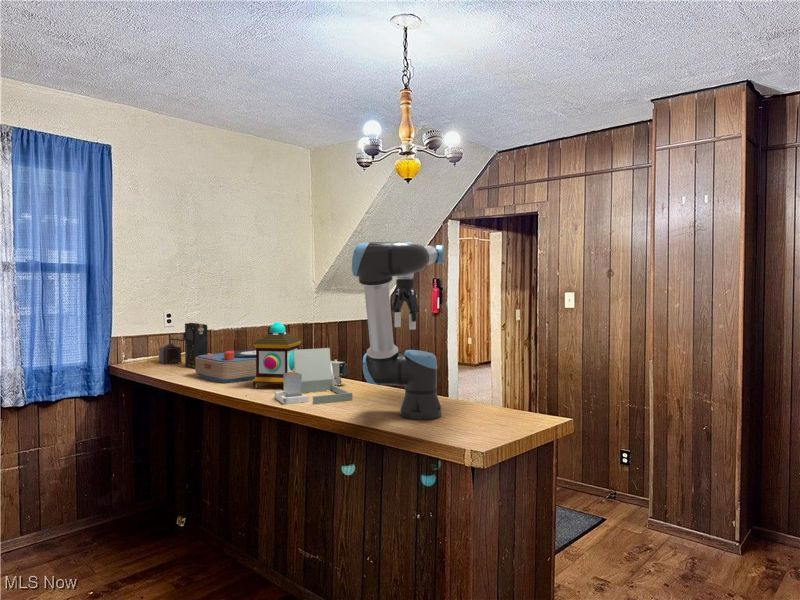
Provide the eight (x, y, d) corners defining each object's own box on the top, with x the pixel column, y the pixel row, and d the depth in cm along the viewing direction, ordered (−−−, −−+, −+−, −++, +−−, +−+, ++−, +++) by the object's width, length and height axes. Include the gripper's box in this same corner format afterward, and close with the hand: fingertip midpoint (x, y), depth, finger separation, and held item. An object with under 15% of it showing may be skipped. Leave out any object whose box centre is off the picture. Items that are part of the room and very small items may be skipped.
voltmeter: (183, 366, 320) (182, 322, 320) (198, 364, 326) (197, 322, 326) (194, 369, 309) (194, 324, 308) (209, 367, 315) (209, 323, 314)
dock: (308, 402, 226) (308, 395, 226) (284, 404, 221) (284, 398, 221) (298, 395, 238) (298, 389, 238) (274, 398, 234) (274, 392, 233)
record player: (263, 367, 321) (263, 341, 320) (300, 374, 296) (300, 346, 295) (189, 376, 289) (189, 347, 289) (224, 385, 264) (224, 353, 264)
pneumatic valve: (342, 387, 258) (342, 361, 257) (322, 384, 264) (322, 359, 263) (349, 385, 263) (349, 359, 262) (329, 382, 269) (329, 358, 268)
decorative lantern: (290, 391, 249) (290, 323, 248) (248, 389, 252) (248, 323, 251) (305, 382, 269) (305, 320, 268) (267, 381, 272) (266, 320, 271)
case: (354, 400, 230) (354, 354, 229) (313, 404, 222) (313, 357, 221) (330, 388, 254) (330, 347, 253) (293, 392, 246) (293, 349, 245)
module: (301, 400, 229) (301, 372, 228) (287, 402, 226) (287, 373, 226) (297, 398, 234) (297, 370, 233) (283, 399, 231) (283, 372, 231)
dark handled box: (164, 364, 327) (163, 334, 327) (158, 362, 336) (157, 332, 335) (190, 362, 337) (190, 332, 337) (184, 360, 346) (184, 331, 345)
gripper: (427, 278, 229) (427, 330, 230) (399, 278, 252) (399, 325, 252) (411, 278, 226) (411, 330, 227) (384, 278, 248) (384, 326, 249)
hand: (404, 328), depth 240 cm, fingers open, 13 cm apart
